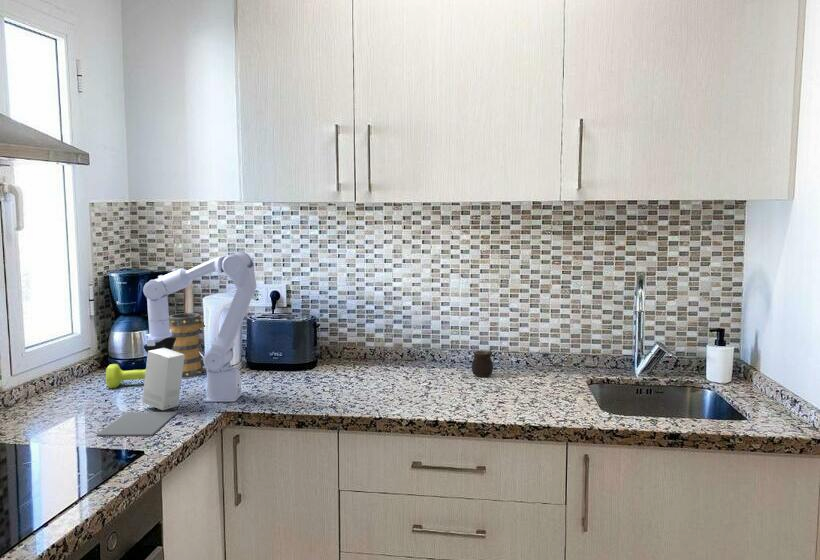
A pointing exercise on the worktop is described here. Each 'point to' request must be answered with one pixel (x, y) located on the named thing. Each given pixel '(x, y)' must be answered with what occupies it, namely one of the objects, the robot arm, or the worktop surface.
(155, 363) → the skincare box
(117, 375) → the dumbbell
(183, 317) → the mug
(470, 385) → the worktop surface
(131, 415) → the charcoal rubber mat
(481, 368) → the mate gourd
